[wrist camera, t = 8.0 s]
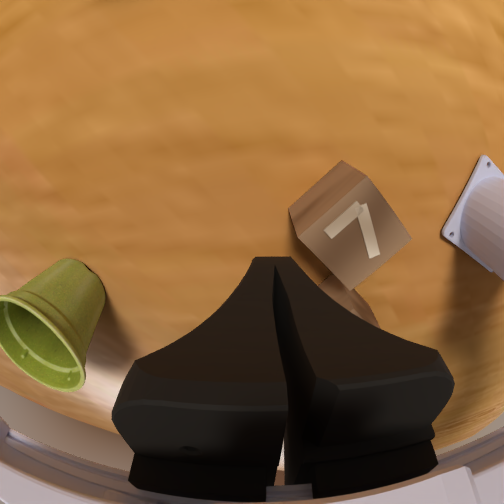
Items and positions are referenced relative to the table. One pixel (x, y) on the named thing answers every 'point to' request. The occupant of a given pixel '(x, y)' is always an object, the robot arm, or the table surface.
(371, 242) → the block seven
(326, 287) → the plain block
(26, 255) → the table surface
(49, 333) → the plant pot
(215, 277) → the table surface
